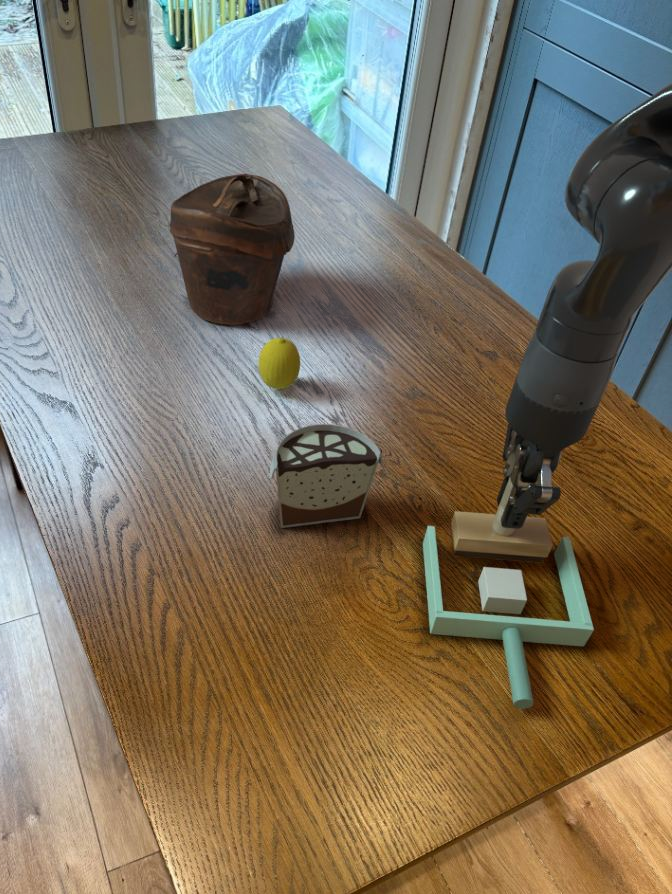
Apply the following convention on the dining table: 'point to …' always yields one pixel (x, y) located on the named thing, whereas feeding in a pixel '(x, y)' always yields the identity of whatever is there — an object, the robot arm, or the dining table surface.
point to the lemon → (279, 363)
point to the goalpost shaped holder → (512, 618)
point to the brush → (500, 535)
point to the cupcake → (323, 474)
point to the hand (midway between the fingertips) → (508, 514)
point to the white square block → (502, 590)
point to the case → (232, 246)
